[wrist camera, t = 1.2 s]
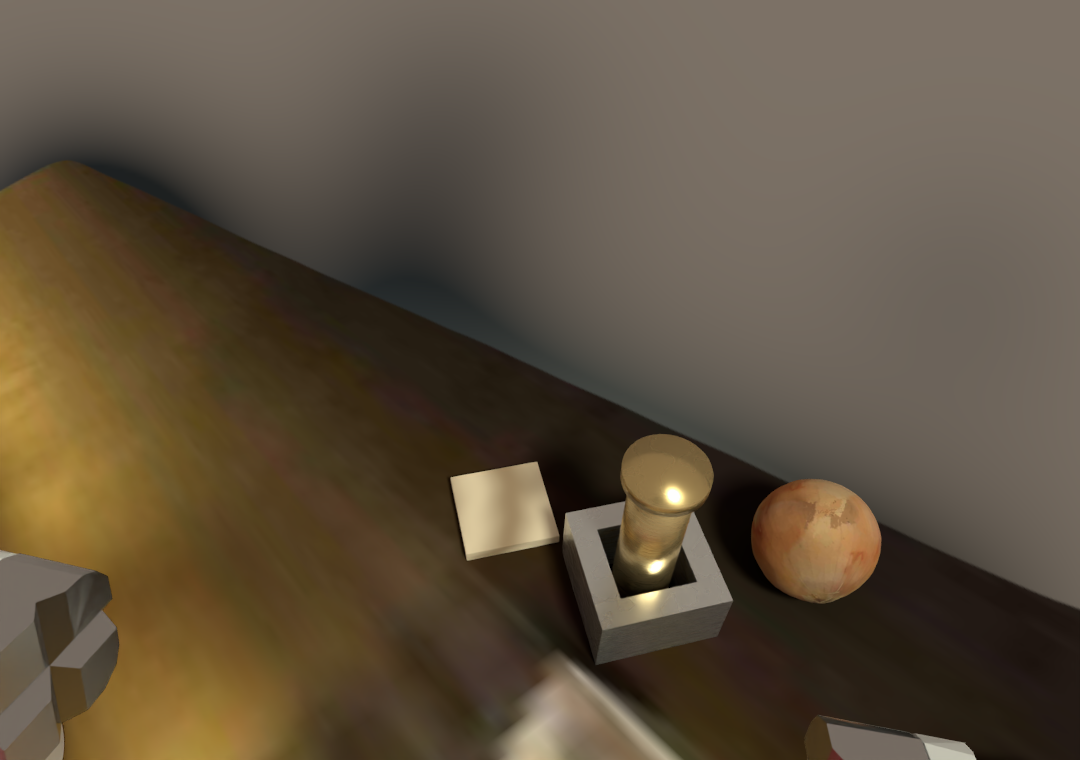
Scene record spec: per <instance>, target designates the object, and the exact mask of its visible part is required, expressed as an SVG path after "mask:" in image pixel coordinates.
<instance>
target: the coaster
mask: <svg viewBox="0 0 1080 760" xmlns="http://www.w3.org/2000/svg"><path fill="white" fill-rule="evenodd" d="M451 486H452V491H453V495H454V500H455V505H456V510H457V515H458V520H459V525H460V530H461V535H462V539H463V544H464V549H465V554H466V559H467V561H468V560H473V559H478V558H482V557H487V556H492V555H497V554H502V553H507V552H512V551H517V550H522V549H527V548H532V547H537V546H542V545H546V544H551V543H556V542H559V533H558V529H557V526H556V523H555V519H554V516H553V513H552V509H551V506H550V503H549V500H548V496H547V493H546V490H545V486H544V483H543V480H542V476H541V473H540V470H539V466H538V463H537V462H532V463H527V464H521V465H516V466H510V467H505V468H499V469H494V470H488V471H483V472H477V473H472V474H466V475H461V476H455V477H451Z"/></svg>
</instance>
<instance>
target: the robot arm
mask: <svg viewBox="0 0 1080 760" xmlns="http://www.w3.org/2000/svg"><path fill="white" fill-rule="evenodd" d="M111 600H112V594H111V590H110V585H109V580H108V576H106V575H104V574H102V573H100V572H97V571H94V570H90V569H86V568H81V567H77V566H73V565H68V564H64V563H60V562H55V561H51V560H46V559H42V558H38V557H33V556H29V555H25V554H16V553H12V552H8V551H3V550H0V760H63V753H64V734H63V727H62V723H63V722H65V721H67V720H69V719H71V718H73V717H75V716H77V715H79V714H81V713H83V712H85V711H87V710H88V709H89V708H90V707H91V705H92V704H93V703H94V702H95V700H96V699H97V698H98V697H99V695H100V694H101V693H102V692H103V691H104V689H105V687H106V685H107V683H108V681H109V679H110V677H111V674H112V672H113V670H114V668H115V666H116V663H117V656H118V649H119V639H118V632H117V627H116V626H115V625H114V624H113V623H112V621H111V620H110V619H109V618H108V617H107V615H106V614H105V613H104V612H103V611H102V610H103V609H104V608H105V607H106V606H107V604H108V603H109V602H110V601H111ZM804 741H805V747H806V752H807V758H808V760H976V758H975V756H974V753H973V752H972V751H971V750H970V748H969V747H968V746H967V745H966V744H965V743H962V742H957V741H952V740H946V739H941V738H936V737H931V736H925V735H920V734H910V733H909V732H904V731H899V730H894V729H888V728H883V727H878V726H873V725H867V724H862V723H857V722H852V721H846V720H841V719H836V718H831V717H825V716H820V715H817V717H816V718H815V719H814V720H813V721H812V722H811V723H810V726H809V728H808V731H807V734H806V736H805V739H804Z"/></svg>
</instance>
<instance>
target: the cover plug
mask: <svg viewBox="0 0 1080 760" xmlns="http://www.w3.org/2000/svg"><path fill="white" fill-rule="evenodd" d="M620 478H621V484H622V487H623V489H624V491H625V493H626V495H627V496H626V501H625V506H624V511H623V517H622V522H621V527H620V532H619V537H618V542H617V548H616V553H615V558H614V563H613V568H612V575H613V578H614V581H615V584H616V587H617V590H618V593H619V596H620V598H621V599H623V598H627V597H632V596H636V595H641V594H645V593H650V592H654V591H659V590H663V589H668V587H669V584H670V581H671V577H672V574H673V571H674V568H675V565H676V561H677V558H678V555H679V552H680V549H681V545H682V542H683V539H684V536H685V533H686V529H687V526H688V523H689V520H690V517H691V513H692V512H694V511H696V510H697V509H699V508H700V507H701V506H702V505H703V504H704V503H705V501H706V500H707V498H708V495H709V493H710V490H711V487H712V483H713V470H712V466H711V463H710V461H709V459H708V458H707V456H706V455H705V454H704V452H703V451H702V450H701V449H700V448H698V447H697V446H696V445H694V444H693V443H691V442H690V441H688V440H686V439H683V438H681V437H677V436H673V435H666V434H657V435H650V436H647V437H644V438H641V439H639V440H637V441H636V442H635V443H633V444H632V445H631V446H630V447H629V448H628V450H627V451H626V453H625V455H624V457H623V461H622V467H621V472H620Z"/></svg>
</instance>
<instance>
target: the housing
mask: <svg viewBox="0 0 1080 760" xmlns="http://www.w3.org/2000/svg"><path fill="white" fill-rule="evenodd" d="M624 506H625V502H620V503H615V504H609V505H604V506H599V507H594V508H589V509H584V510H579V511H574V512H569V513H566V514H565V525H564V535H563V546H562V554H563V557H564V561H565V564H566V567H567V571H568V574H569V577H570V581H571V584H572V587H573V591H574V594H575V597H576V601H577V604H578V607H579V611H580V614H581V617H582V621H583V624H584V628H585V631H586V634H587V638H588V641H589V644H590V648H591V651H592V654H593V658H594V661H595V664H596V665H597V664H601V663H605V662H610V661H614V660H618V659H622V658H627V657H631V656H635V655H639V654H644V653H648V652H652V651H656V650H661V649H665V648H669V647H673V646H678V645H682V644H686V643H690V642H695V641H699V640H703V639H708V638H712V637H716V636H717V635H718V633H719V631H720V628H721V626H722V624H723V622H724V620H725V617H726V615H727V613H728V611H729V608H730V606H731V604H732V602H733V600H732V597H731V595H730V593H729V591H728V588H727V586H726V584H725V582H724V579H723V577H722V575H721V573H720V570H719V568H718V566H717V564H716V561H715V559H714V557H713V555H712V552H711V550H710V548H709V546H708V543H707V541H706V539H705V537H704V534H703V532H702V530H701V528H700V525H699V523H698V521H697V519H696V516H695V514H694V512H692V513H691V517H690V520H689V523H688V526H687V529H686V533H685V536H684V539H683V542H682V545H681V549H680V552H679V555H678V558H677V561H676V565H675V568H674V571H673V574H672V577H671V581H670V584H671V586H672V588H668V589H663V590H659V591H654V592H650V593H645V594H641V595H636V596H632V597H627V598H623V599H621V598H620V596H619V593H618V590H617V587H616V584H615V581H614V578H613V575H612V572H611V569H610V566H609V564H612V563H614V558H615V553H616V548H617V542H618V537H619V532H620V527H621V522H622V517H623V511H624Z"/></svg>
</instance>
